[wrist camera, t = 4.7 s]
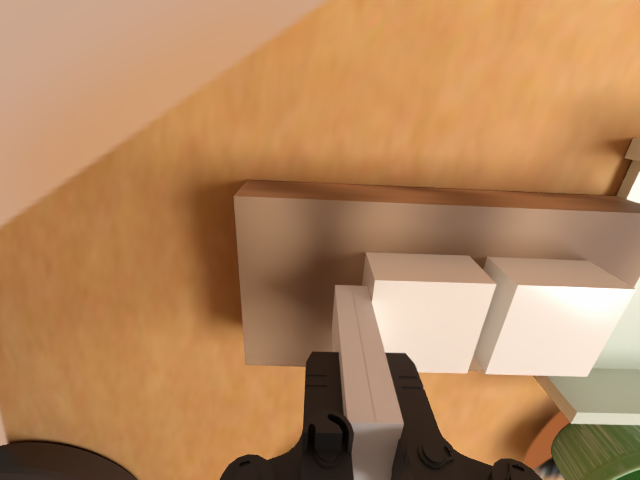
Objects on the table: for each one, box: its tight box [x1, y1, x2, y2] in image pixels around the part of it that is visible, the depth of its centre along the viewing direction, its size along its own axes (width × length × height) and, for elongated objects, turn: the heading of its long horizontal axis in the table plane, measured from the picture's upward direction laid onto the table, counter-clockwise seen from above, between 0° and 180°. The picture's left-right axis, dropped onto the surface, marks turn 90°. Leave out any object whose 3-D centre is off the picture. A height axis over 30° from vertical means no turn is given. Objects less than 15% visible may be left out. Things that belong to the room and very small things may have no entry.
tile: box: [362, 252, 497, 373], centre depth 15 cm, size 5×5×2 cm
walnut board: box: [233, 180, 640, 371], centre depth 17 cm, size 20×10×3 cm, turn 87°
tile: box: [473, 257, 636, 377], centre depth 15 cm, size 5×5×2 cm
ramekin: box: [551, 423, 640, 480], centre depth 24 cm, size 9×9×4 cm
